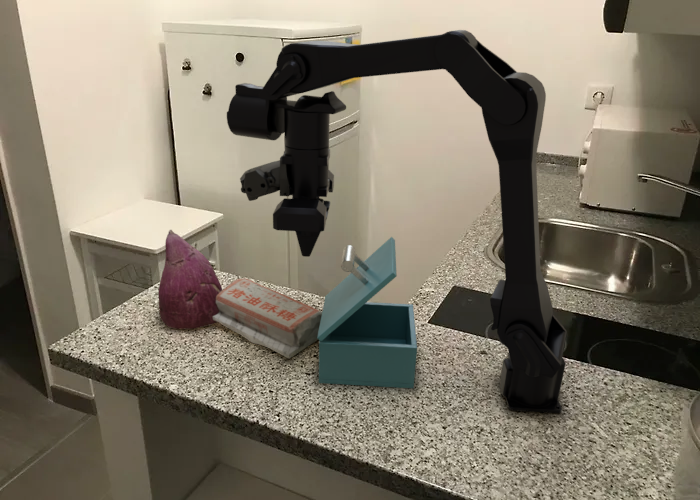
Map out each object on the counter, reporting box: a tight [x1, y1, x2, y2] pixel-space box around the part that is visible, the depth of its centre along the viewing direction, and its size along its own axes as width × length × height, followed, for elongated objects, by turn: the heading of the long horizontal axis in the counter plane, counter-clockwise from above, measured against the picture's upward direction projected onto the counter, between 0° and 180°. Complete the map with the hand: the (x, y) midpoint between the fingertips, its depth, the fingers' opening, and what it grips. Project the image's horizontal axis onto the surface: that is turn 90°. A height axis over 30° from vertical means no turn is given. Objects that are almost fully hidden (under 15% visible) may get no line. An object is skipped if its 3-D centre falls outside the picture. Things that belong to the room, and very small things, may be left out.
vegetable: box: [157, 229, 223, 330], centre depth 89 cm, size 10×10×15 cm
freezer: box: [318, 301, 418, 389], centre depth 80 cm, size 12×11×6 cm
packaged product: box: [213, 277, 323, 359], centre depth 88 cm, size 18×5×10 cm
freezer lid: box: [317, 236, 398, 341], centre depth 76 cm, size 13×11×5 cm
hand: (306, 255), depth 81 cm, fingers closed
